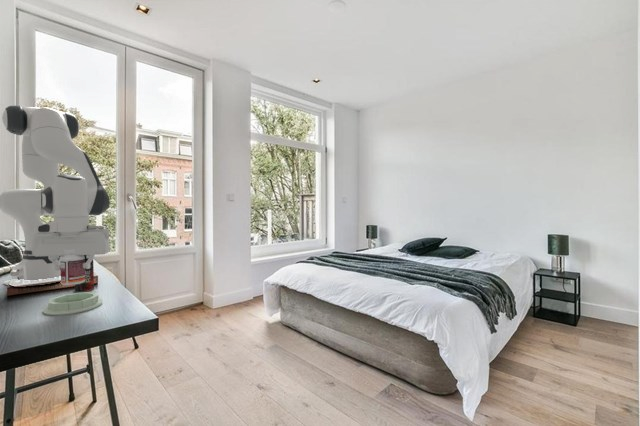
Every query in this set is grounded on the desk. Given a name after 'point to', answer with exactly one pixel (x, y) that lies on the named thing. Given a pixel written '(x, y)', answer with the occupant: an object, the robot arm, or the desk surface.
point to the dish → (72, 303)
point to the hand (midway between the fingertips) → (72, 269)
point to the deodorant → (87, 279)
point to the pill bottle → (72, 268)
